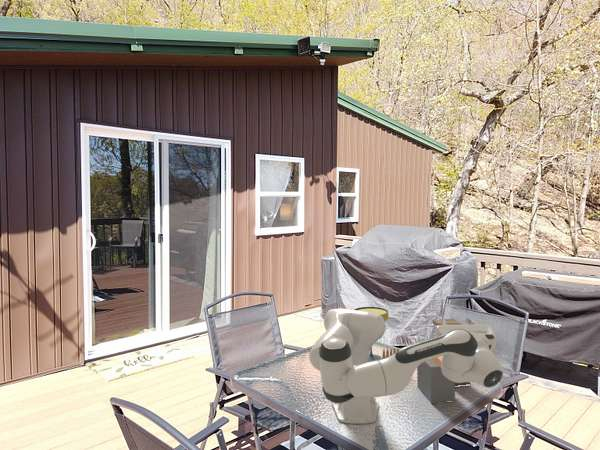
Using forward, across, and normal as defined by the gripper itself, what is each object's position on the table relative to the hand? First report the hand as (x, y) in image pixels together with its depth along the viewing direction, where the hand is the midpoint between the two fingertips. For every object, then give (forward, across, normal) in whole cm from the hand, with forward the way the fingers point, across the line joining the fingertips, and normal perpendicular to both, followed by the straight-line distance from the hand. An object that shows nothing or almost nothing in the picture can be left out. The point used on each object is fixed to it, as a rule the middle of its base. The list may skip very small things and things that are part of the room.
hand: (456, 320), depth 170 cm
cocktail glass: (+47, -13, -62) cm, 79 cm away
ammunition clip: (+28, -8, -54) cm, 61 cm away
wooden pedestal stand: (+16, +14, -47) cm, 52 cm away
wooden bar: (+6, +1, -27) cm, 28 cm away
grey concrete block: (+5, +2, -43) cm, 43 cm away
